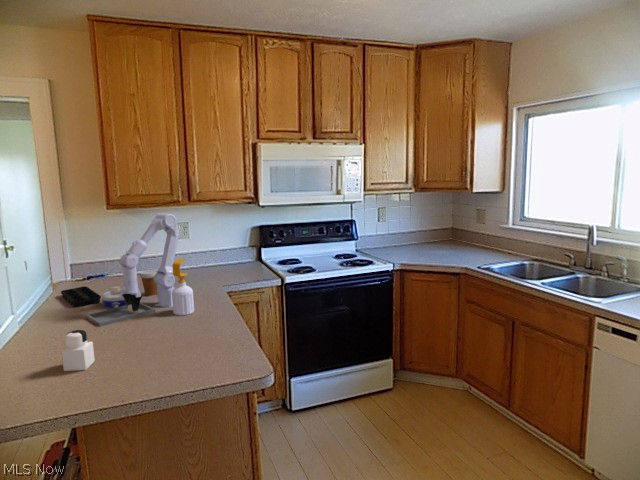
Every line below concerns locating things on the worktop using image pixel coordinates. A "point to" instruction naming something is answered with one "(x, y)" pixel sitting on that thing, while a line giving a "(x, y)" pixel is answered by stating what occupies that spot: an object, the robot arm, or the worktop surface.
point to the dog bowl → (113, 300)
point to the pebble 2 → (131, 309)
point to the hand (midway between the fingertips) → (133, 309)
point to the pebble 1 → (114, 290)
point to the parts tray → (118, 314)
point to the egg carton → (81, 296)
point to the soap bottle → (181, 293)
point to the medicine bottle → (77, 351)
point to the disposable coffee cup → (149, 282)
